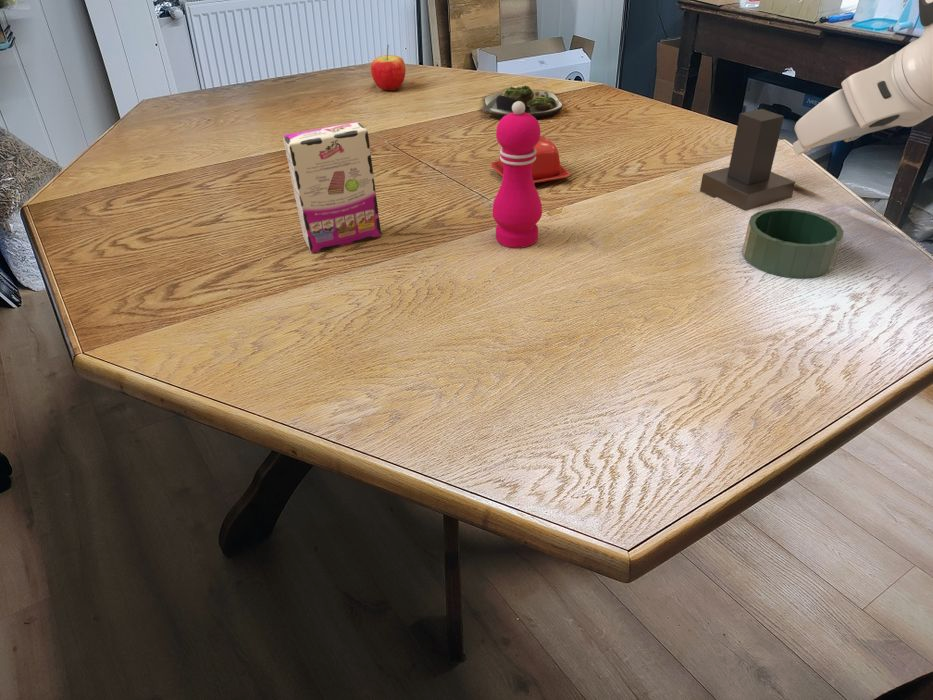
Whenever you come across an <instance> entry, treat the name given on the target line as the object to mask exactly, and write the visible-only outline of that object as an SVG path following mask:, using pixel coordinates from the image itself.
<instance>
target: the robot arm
mask: <svg viewBox="0 0 933 700" xmlns="http://www.w3.org/2000/svg"><path fill="white" fill-rule="evenodd" d="M918 15H919V21H920V24H921V26H922V27H923V28H924V29H923V32H922V34H921V35H920V36H919V37H918V38H917V39H914V40H913V41H911V42H910V43H908V44H907V45H905V46H904V47H902V48H901V49H900V50H898V51H896V52H895V53H893V54H891V55H889V56H888V57H886V58H885V59H883V60H882V61H880V62H879V63H877V64H873V65H872V66H869V67H867V68H864V69H862V70H859V71H857V72H855V73H853V74H851V75H849V76H848V77H846V78H845V79H844V80H842V81H841V88H840V89H837V90H836V91H834V92H833V93H831V94H830V95H828V96H827V97H825V98H824V99H823V100H821V101H820V102H819V103H818V104H816V105H815V106H814V107H812V108H811V109H810V110H809V111H808V112H806V113H805V114H804V115H803V116H802V117H800V118H799V119H798V120H797V121H796V123H795V125H794V128H793V129H794V133H795V135H796V137H797V140H796V141H794V142H793V143H792V149H793V152H794V153H795V155H797V156H799V155H802V154H806V153H808V152H809V151H811V150H813V149H814V148H816V147H821V146H825V145H827V144H832V143H836V142H840V141H843V142H844V143H848V142H852V141H855V140H857V139H859V138H860V137H863V136H864V135H867V134H870V133H876V132H879V131H883V130H887V129H891V128H895V127H905V128H910V127H915V126H917V125H918V124H921V123H922V122H924V121H925V120H927V119H929V118H931V117H933V0H918Z"/></svg>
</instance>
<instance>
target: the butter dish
mask: <svg viewBox="0 0 933 700" xmlns="http://www.w3.org/2000/svg"><path fill="white" fill-rule="evenodd" d="M534 148H535V149H536V154H535V156H536V160H535V161H534V162H533V165H532V177H533V182H534V184H538V183H545V182H546V183H547V182H551V181H556V180H561V179H565V178H568V177H570V176H571V173H570V172H569V171H568V170H567V169H566V168H565V167H564V166H563V165H561V160H560V154H559V150H558V148H557V145H556V144H554V142H553V141H551V139H549V138H547V137H546V136H544V135H541V134H540V139H539V141H538V143H537V144H536V145H535V146H534ZM500 156H501V154H500V153H499V159H498V160H495V161H492V162H490V166H491V168H492V169H494V170H495V171H496V172H497V173H498V174H499V175H500V176H501V177H502V178H503V170H504V168H503V162H502V161H501V160H500Z"/></svg>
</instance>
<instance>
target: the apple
mask: <svg viewBox="0 0 933 700" xmlns="http://www.w3.org/2000/svg"><path fill="white" fill-rule="evenodd" d="M386 46H387V47H386V55H380V56H377V57H375V58H374V59H372V61H371V65H370V73H371V77H372V80H373V82H374V83H375V85H376V86H377V87H378V88H379V89H381V90H383V89H384V90H383V91H387V90H391V91H393V90H392V89H396V90H397V89H399V88H400V87H401V86H402V85H403V83H404V80H405V78H406V64H405V63H406V62H405V61H404V59H403V58H402V57H401V56H398V55H394V54H392V55H391V54H389V46H390V45H389V44H387V45H386Z"/></svg>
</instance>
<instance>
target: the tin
mask: <svg viewBox="0 0 933 700" xmlns="http://www.w3.org/2000/svg"><path fill="white" fill-rule="evenodd" d="M745 232H746V233H745V236H744V242H743V245H742V249H741V252H742V256H743V258H744V260H745V261H746V262H747V264H749V265H751V266H752V267H754V268H755V269H757V270H759V271H761V272H764V273H766V274H770V275H773V276H777V277H780V278H788V279H802V280H803V279H805V280H806V279H814V278H819V277H822V276H825V275H827V274H828V273H830V272H831V271H832V270H834V269H833V268H834V266H835V263H836V260H837V257H838V254H839V251H840V247H841V244H842V241H843V238H844V229H843V228H842V227H841V225H840V224H838V223H837V222H836V221H835V220H834V219H831V218H829V217H827V216H825V215H823V214H820V213H816V212H813V211H810V210H804V209H799V208H788V207H787V208H784V207H777V208H776V207H775V208H768V209H764V210H761V211H760V210H759V211H757V212H755V213H754V214H752V215H751V216H750V218H749V221H748V223H747V228H746V231H745Z"/></svg>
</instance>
